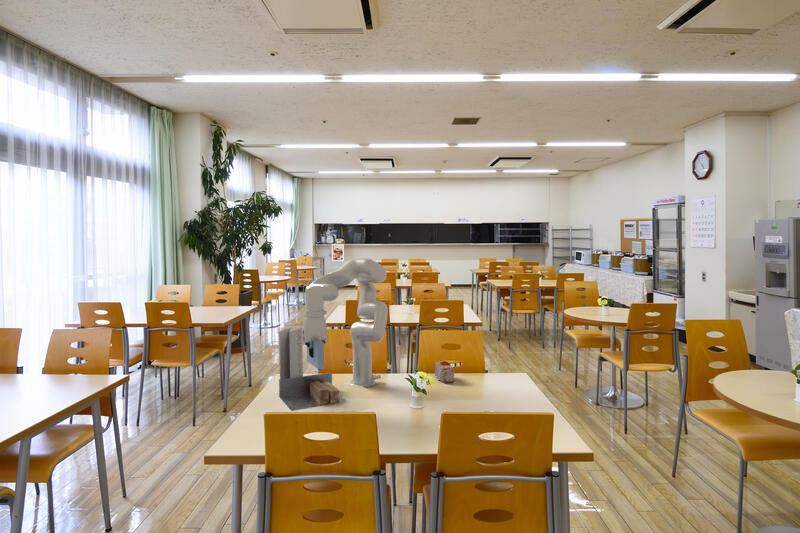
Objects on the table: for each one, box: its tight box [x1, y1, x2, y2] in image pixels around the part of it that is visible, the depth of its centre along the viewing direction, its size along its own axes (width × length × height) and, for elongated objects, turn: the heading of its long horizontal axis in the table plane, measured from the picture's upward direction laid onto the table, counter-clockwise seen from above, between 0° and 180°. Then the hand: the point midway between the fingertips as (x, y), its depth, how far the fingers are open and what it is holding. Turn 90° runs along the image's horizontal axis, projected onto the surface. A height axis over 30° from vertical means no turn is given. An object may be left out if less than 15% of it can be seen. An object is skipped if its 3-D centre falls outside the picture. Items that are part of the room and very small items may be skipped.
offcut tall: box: [310, 382, 329, 404], centre depth 213 cm, size 4×14×6 cm, turn 28°
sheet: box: [306, 340, 325, 370], centre depth 205 cm, size 2×16×11 cm, turn 28°
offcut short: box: [321, 382, 340, 403], centre depth 215 cm, size 4×14×5 cm, turn 28°
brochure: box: [278, 326, 304, 379], centre depth 229 cm, size 14×6×30 cm, turn 168°
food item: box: [434, 360, 455, 383], centre depth 246 cm, size 14×8×10 cm, turn 15°
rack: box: [278, 372, 348, 412], centre depth 213 cm, size 25×21×9 cm
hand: (315, 356), depth 205 cm, fingers closed on sheet, 2 cm apart
